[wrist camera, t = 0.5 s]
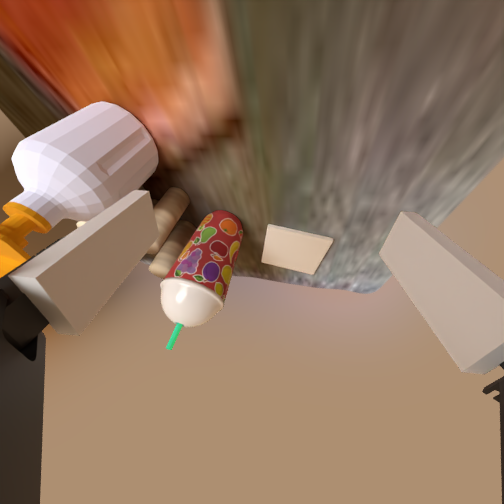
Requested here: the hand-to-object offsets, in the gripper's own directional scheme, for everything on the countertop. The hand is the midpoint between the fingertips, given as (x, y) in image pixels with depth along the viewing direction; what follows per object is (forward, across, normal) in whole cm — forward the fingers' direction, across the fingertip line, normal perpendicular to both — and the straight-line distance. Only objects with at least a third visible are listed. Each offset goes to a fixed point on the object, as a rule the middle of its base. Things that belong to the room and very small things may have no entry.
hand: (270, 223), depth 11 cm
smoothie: (+20, -6, -11) cm, 24 cm away
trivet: (+19, +6, -15) cm, 25 cm away
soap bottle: (+19, -19, 0) cm, 27 cm away
